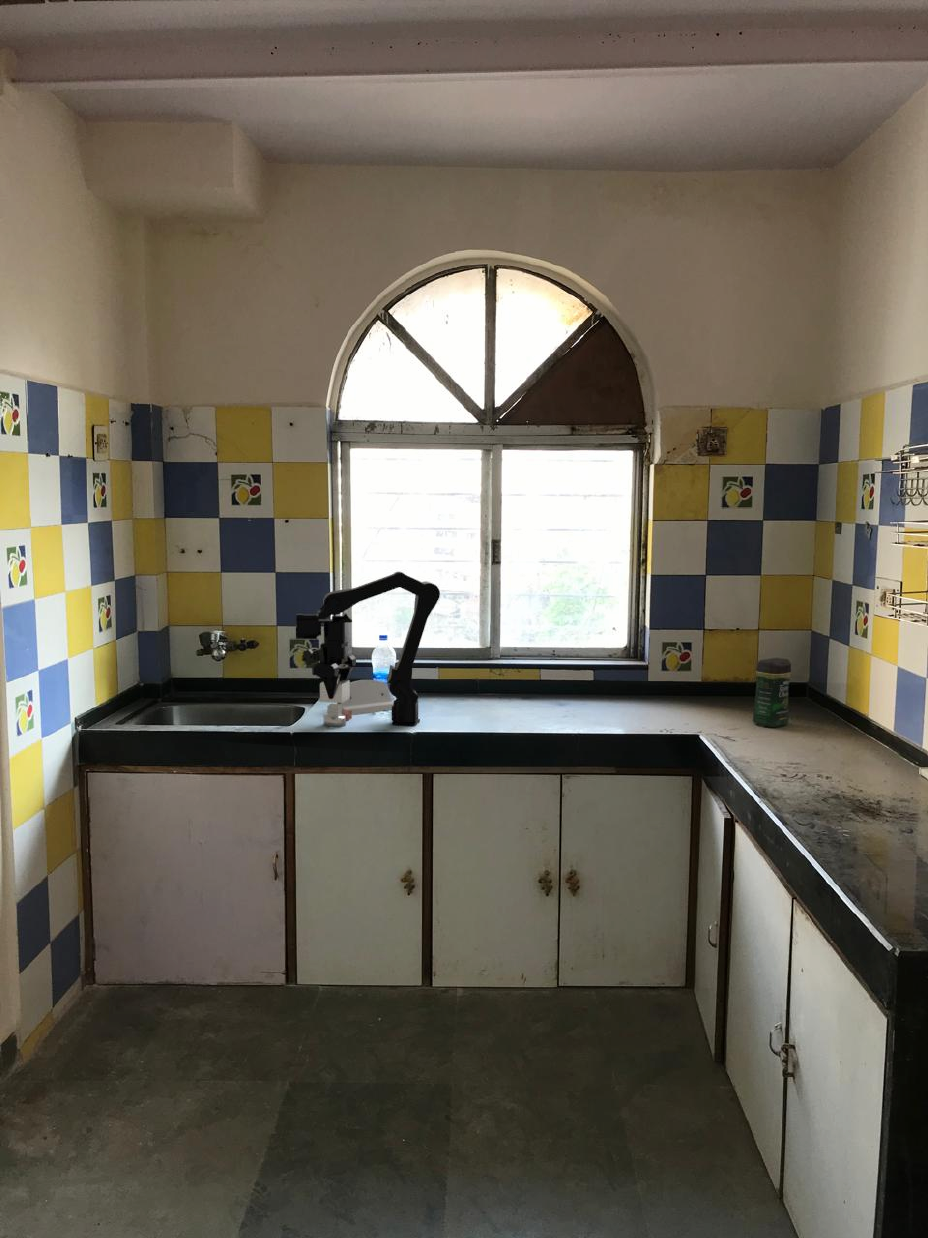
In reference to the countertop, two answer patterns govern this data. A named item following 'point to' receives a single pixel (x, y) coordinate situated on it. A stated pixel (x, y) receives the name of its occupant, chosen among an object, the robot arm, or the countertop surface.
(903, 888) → the countertop surface
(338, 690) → the grey cube
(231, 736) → the countertop surface
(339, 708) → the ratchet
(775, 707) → the coffee jar
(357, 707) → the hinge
